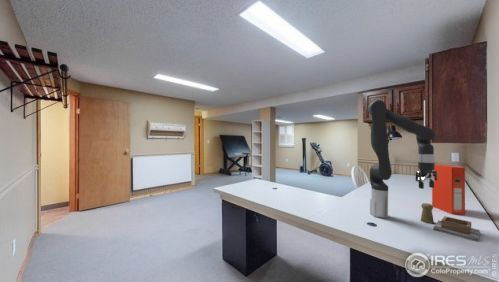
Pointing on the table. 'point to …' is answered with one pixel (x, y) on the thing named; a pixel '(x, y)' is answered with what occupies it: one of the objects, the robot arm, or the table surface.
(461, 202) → the file binder
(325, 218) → the table surface
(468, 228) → the socket block
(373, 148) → the robot arm
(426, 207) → the cork
